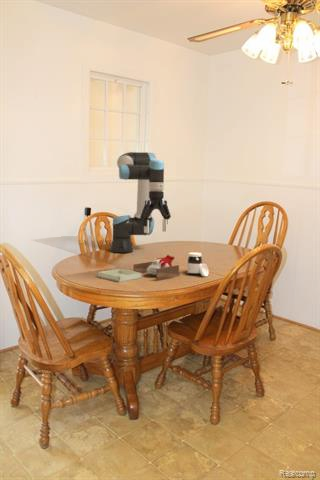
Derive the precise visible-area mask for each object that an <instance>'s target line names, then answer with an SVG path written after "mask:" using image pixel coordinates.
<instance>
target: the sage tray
mask: <svg viewBox="0 0 320 480" xmlns="http://www.w3.org/2000/svg"><path fill="white" fill-rule="evenodd" d="M142 276H143V274H142V273H139V272H134V271H133V270H129V269H123V268H115V269H108V270H103V271H97V278H100V277H101V279H104V280H109V281H113V282H118V283H122V282H128V281H133V280H134V281H135V280H137V279H142V278H143V277H142Z"/></svg>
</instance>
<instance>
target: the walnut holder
mask: <svg viewBox="0 0 320 480" xmlns="http://www.w3.org/2000/svg"><path fill="white" fill-rule="evenodd" d="M152 263H153V261H147V262H141V263H135V264H133V269H132V271H134V272H139V273H142V275H143V274H147V273H148V272H146V270H147V268H148V267H149V266H150V265H151V264H152ZM155 275H156V276H155V277H156V279H155V280H156V282H157V281H158V282H159V281H163V280H168V279H173V278H178V277H181V276H180V275H181V272H180V265H179V264H177V265H176V264H175V265H172V266H170V267H164V268H158V269H156V274H155Z"/></svg>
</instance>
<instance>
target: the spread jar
mask: <svg viewBox="0 0 320 480" xmlns="http://www.w3.org/2000/svg"><path fill="white" fill-rule="evenodd" d="M187 275H189V276H202V277H204V278H205V277H208V276H209V268H208V265H207V264H206V263H203V258H202V253H201V252H188V258H187Z"/></svg>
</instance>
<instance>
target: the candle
mask: <svg viewBox="0 0 320 480" xmlns="http://www.w3.org/2000/svg"><path fill="white" fill-rule="evenodd" d="M174 259H175V256H172V255H170V254H167V255H166V256H164V257H158V258H156V259H154V260H152V262H153V263H152V264H151V265H150V266H149V267H148V268H147V270H146V272H147V273H148V274H150V275H153V276H155V275H156V269H158V268H164V267H170V266H173V265H172V262H173V261H174Z"/></svg>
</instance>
